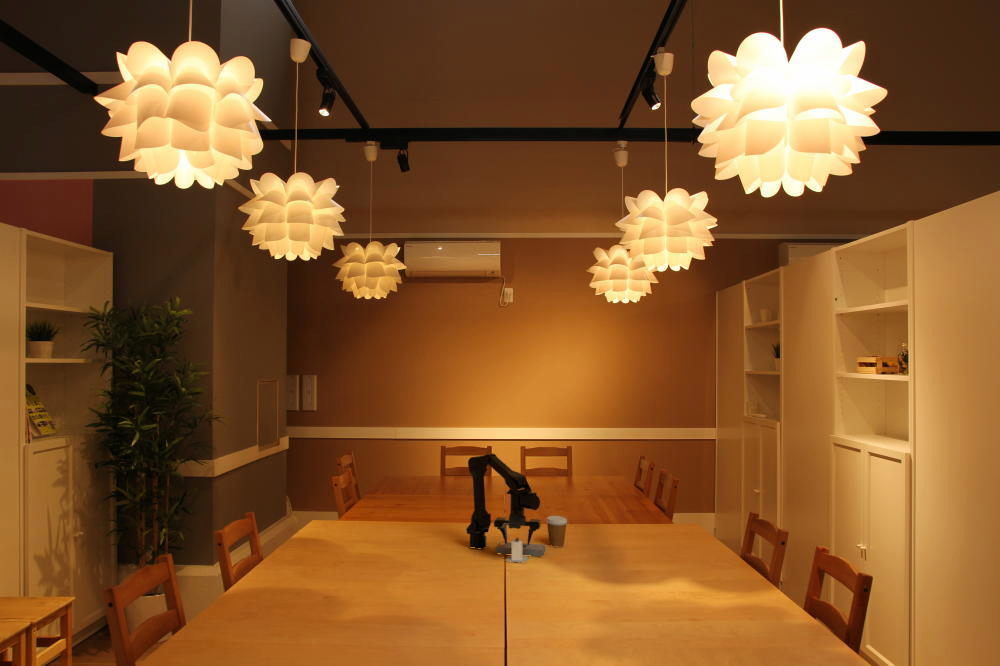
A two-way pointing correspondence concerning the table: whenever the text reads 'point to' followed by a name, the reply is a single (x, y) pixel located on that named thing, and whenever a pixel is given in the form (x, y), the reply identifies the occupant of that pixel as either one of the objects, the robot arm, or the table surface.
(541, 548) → the grey flat block
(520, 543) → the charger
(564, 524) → the disposable coffee cup
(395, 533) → the table surface
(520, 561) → the grey square plate
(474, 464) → the robot arm
